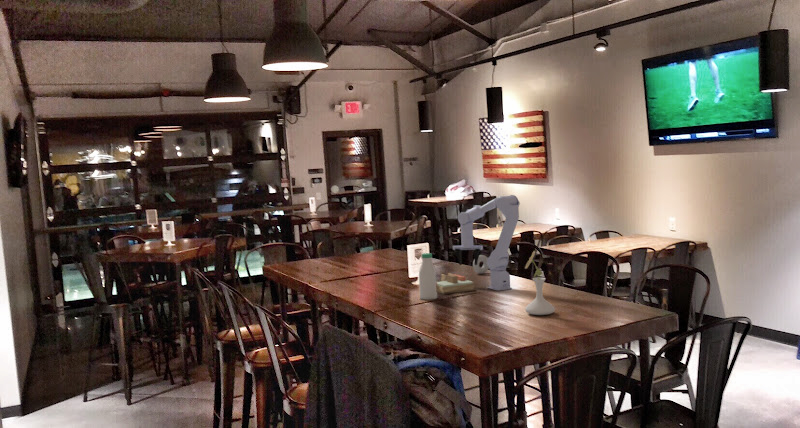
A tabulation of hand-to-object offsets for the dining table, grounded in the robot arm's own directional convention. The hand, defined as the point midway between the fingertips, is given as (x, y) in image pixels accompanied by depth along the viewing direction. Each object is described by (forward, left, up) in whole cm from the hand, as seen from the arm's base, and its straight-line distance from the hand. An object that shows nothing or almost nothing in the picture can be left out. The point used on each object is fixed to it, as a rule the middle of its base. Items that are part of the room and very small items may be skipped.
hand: (468, 264), depth 328 cm
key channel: (+5, +7, -10) cm, 13 cm away
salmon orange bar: (-2, +7, -6) cm, 9 cm away
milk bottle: (-17, +31, -10) cm, 36 cm away
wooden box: (-7, +13, -10) cm, 17 cm away
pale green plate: (-7, +13, -7) cm, 16 cm away
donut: (+24, -21, -10) cm, 34 cm away
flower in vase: (-70, +10, -10) cm, 71 cm away
